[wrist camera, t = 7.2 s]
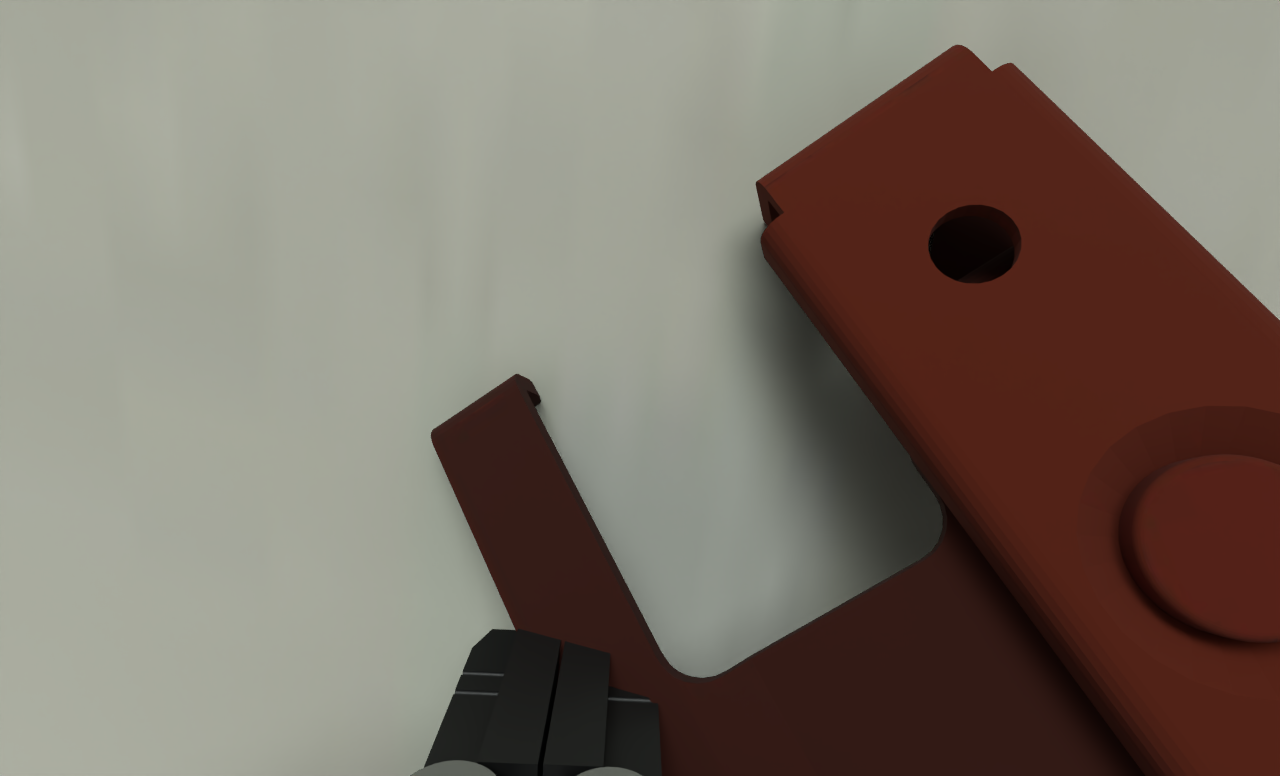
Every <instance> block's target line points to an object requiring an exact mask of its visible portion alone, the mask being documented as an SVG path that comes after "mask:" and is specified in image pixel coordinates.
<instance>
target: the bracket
mask: <svg viewBox="0 0 1280 776" xmlns="http://www.w3.org/2000/svg"><path fill="white" fill-rule="evenodd" d="M756 188H757V193H758V197H759V202H760V207H761V211H762V216H763V220H764V222H765V223H766V225H767V226H768V227H767V228H766V229H765V231H764V232H763V234H762V236H761V245H762V250H763V254H764V258H765V259H766V260H767V262H768V263H769V265H770V266H771V267H772V269H773V270H774V271H775V273H776V274H777V275H778V277H779V278H780V279H781V281H782V282H783V284H784V285H785V286H786V288H787V289H788V290H789V292H790V293H791V294H792V296H793V297H794V299H795V300H796V301H797V303H798V304H799V305H800V307H801V308H802V309H803V311H804V312H805V313H806V315H807V316H808V318H809V319H810V320H811V322H812V323H813V324H814V326H815V327H816V328H817V330H818V331H819V333H820V334H821V335H822V337H823V338H824V339H825V341H826V342H827V343H828V345H829V346H830V347H831V349H832V350H833V352H834V353H835V354H836V356H837V357H838V358H839V360H840V361H841V362H842V364H843V365H844V367H845V368H846V369H847V371H848V372H849V373H850V375H851V376H852V377H853V379H854V380H855V381H856V383H857V384H858V386H859V387H860V388H861V390H862V391H863V392H864V394H865V395H866V396H867V398H868V399H869V401H870V402H871V403H872V405H873V406H874V407H875V409H876V410H877V411H878V413H879V414H880V416H881V417H882V418H883V420H884V421H885V422H886V424H887V425H888V426H889V428H890V429H891V430H892V432H893V433H894V435H895V436H896V437H897V439H898V440H899V441H900V443H901V444H902V445H903V447H904V448H905V450H906V451H907V452H908V454H909V455H910V457H911V460H912V462H913V464H914V466H915V468H916V469H917V471H918V472H919V474H920V475H921V476H922V478H923V479H924V481H925V482H926V483H927V485H928V486H929V488H930V489H931V490H932V492H933V493H934V495H935V497H936V498H937V500H938V502H939V504H940V507H941V511H942V515H943V528H942V532H941V535H940V538H939V541H938V543H937V544H936V545H935V547H934V548H933V550H932V551H931V552H930V553H928V554H927V555H926V556H925V557H923V558H922V559H920V560H919V561H917V562H915V563H913V564H912V565H910V566H908V567H906V568H905V569H903V570H901V571H899V572H897V573H896V574H894V575H892V576H890V577H889V578H887V579H885V580H883V581H882V582H880V583H878V584H876V585H875V586H873V587H871V588H869V589H868V590H866V591H864V592H862V593H860V594H859V595H857V596H855V597H853V598H852V599H850V600H848V601H846V602H845V603H843V604H841V605H839V606H838V607H836V608H834V609H832V610H831V611H829V612H827V613H825V614H824V615H822V616H820V617H818V618H816V619H815V620H813V621H811V622H809V623H808V624H806V625H804V626H802V627H801V628H799V629H797V630H795V631H794V632H792V633H790V634H788V635H787V636H785V637H783V638H781V639H780V640H778V641H776V642H774V643H772V644H771V645H769V646H767V647H765V648H764V649H762V650H760V651H758V652H757V653H755V654H753V655H751V656H750V657H748V658H746V659H745V660H743V661H742V662H740V663H738V664H737V665H735V666H734V667H732V668H730V669H729V670H727V671H725V672H723V673H721V674H718V675H716V676H712V677H706V678H699V677H691V676H688V675H685V674H683V673H681V672H679V671H677V670H676V669H674V668H673V667H672V666H671V665H670V664H669V663H668V661H667V660H666V658H665V657H664V655H663V654H662V652H661V650H660V648H659V646H658V644H657V642H656V641H655V639H654V637H653V635H652V633H651V631H650V629H649V627H648V625H647V623H646V621H645V619H644V617H643V615H642V613H641V612H640V610H639V608H638V606H637V604H636V602H635V600H634V598H633V596H632V594H631V592H630V590H629V588H628V586H627V584H626V583H625V581H624V579H623V577H622V575H621V573H620V571H619V569H618V567H617V565H616V563H615V561H614V559H613V557H612V555H611V554H610V552H609V550H608V548H607V546H606V544H605V542H604V540H603V538H602V536H601V534H600V532H599V530H598V528H597V526H596V525H595V523H594V521H593V519H592V517H591V515H590V513H589V511H588V509H587V507H586V505H585V503H584V501H583V499H582V497H581V496H580V494H579V492H578V490H577V488H576V486H575V484H574V482H573V480H572V478H571V476H570V474H569V472H568V470H567V468H566V467H565V465H564V463H563V461H562V459H561V457H560V455H559V453H558V451H557V449H556V447H555V445H554V443H553V441H552V439H551V438H550V436H549V434H548V432H547V430H546V428H545V426H544V424H543V422H542V420H541V418H540V416H539V414H538V412H537V410H536V409H535V406H536V405H538V404H539V403H540V402H541V400H540V396H539V394H538V392H537V391H536V389H535V387H534V385H533V383H532V382H531V381H530V380H529V379H527V378H525V377H523V376H521V375H519V374H515V375H514V376H512V377H511V378H509V379H508V380H506V381H505V382H503V383H502V384H500V385H499V386H497V387H496V388H494V389H493V390H491V391H490V392H489V393H487V394H486V395H484V396H483V397H481V398H480V399H478V400H477V401H475V402H474V403H472V404H471V405H469V406H468V407H466V408H465V409H463V410H462V411H460V412H459V413H457V414H456V415H454V416H453V417H451V418H450V419H448V420H447V421H445V422H444V423H442V424H441V425H439V426H438V427H436V428H435V429H433V430H432V432H431V439H432V443H433V446H434V448H435V450H436V452H437V454H438V457H439V459H440V461H441V463H442V466H443V468H444V470H445V472H446V475H447V477H448V479H449V481H450V484H451V486H452V488H453V490H454V493H455V495H456V497H457V499H458V502H459V504H460V506H461V508H462V511H463V513H464V515H465V517H466V520H467V522H468V524H469V526H470V529H471V531H472V533H473V535H474V538H475V540H476V542H477V544H478V546H479V549H480V551H481V553H482V555H483V558H484V560H485V562H486V564H487V567H488V569H489V571H490V573H491V576H492V578H493V580H494V582H495V585H496V587H497V589H498V591H499V594H500V596H501V598H502V600H503V603H504V605H505V607H506V609H507V612H508V614H509V616H510V618H511V621H512V623H513V625H514V627H515V630H516V632H517V630H518V629H522V630H526V631H529V632H533V633H537V634H541V635H544V636H548V637H552V638H555V639H559V640H561V647H560V661H559V672H560V667H561V661H562V655H563V650H564V644H565V641H566V642H570V643H574V644H577V645H581V646H585V647H589V648H592V649H596V650H600V651H603V652H607V653H610V669H609V686H611V687H614V688H618V689H621V690H624V691H628V692H631V693H635V694H638V695H642V696H645V697H649V698H650V699H649V700H650V701H651V702H652V703H658V709H659V730H660V750H661V770H662V776H1280V320H1279V319H1278V318H1277V317H1276V316H1274V315H1273V314H1272V313H1271V312H1270V311H1269V310H1268V309H1267V308H1266V307H1265V306H1264V305H1263V304H1262V303H1261V302H1260V301H1259V300H1258V299H1257V298H1256V297H1255V296H1254V295H1253V294H1252V293H1251V292H1250V291H1249V290H1248V289H1246V288H1245V287H1244V286H1243V285H1242V284H1241V283H1240V282H1239V281H1238V280H1237V279H1236V278H1235V277H1234V276H1233V275H1232V274H1231V273H1230V272H1229V271H1228V270H1227V269H1226V268H1225V267H1224V266H1223V265H1222V264H1221V263H1220V262H1218V261H1217V260H1216V259H1215V258H1214V257H1213V256H1212V255H1211V254H1210V253H1209V252H1208V251H1207V250H1206V249H1205V248H1204V247H1203V246H1202V245H1201V244H1200V243H1199V242H1198V241H1197V240H1196V239H1195V238H1194V237H1193V236H1191V235H1190V234H1189V233H1188V232H1187V231H1186V230H1185V229H1184V228H1183V227H1182V226H1181V225H1180V224H1179V223H1178V222H1177V221H1176V220H1175V219H1174V218H1173V217H1172V216H1171V215H1170V214H1169V213H1168V212H1167V211H1166V210H1165V209H1163V208H1162V207H1161V206H1160V205H1159V204H1158V203H1157V202H1156V201H1155V200H1154V199H1153V198H1152V197H1151V196H1150V195H1149V194H1148V193H1147V192H1146V191H1145V190H1144V189H1143V188H1142V187H1141V186H1140V185H1139V184H1138V183H1137V182H1135V181H1134V180H1133V179H1132V178H1131V177H1130V176H1129V175H1128V174H1127V173H1126V172H1125V171H1124V170H1123V169H1122V168H1121V167H1120V166H1119V165H1118V164H1117V163H1116V162H1115V161H1114V160H1113V159H1112V158H1111V157H1110V156H1109V155H1107V154H1106V153H1105V152H1104V151H1103V150H1102V149H1101V148H1100V147H1099V146H1098V145H1097V144H1096V143H1095V142H1094V141H1093V140H1092V139H1091V138H1090V137H1089V136H1088V135H1087V134H1086V133H1085V132H1084V131H1083V130H1082V129H1081V128H1079V127H1078V126H1077V125H1076V124H1075V123H1074V122H1073V121H1072V120H1071V119H1070V118H1069V117H1068V116H1067V115H1066V114H1065V113H1064V112H1063V111H1062V110H1061V109H1060V108H1059V107H1058V106H1057V105H1056V104H1055V103H1054V102H1052V101H1051V100H1050V99H1049V98H1048V97H1047V96H1046V95H1045V94H1044V93H1043V92H1042V91H1041V90H1040V89H1039V88H1038V87H1037V86H1036V85H1035V84H1034V83H1033V82H1032V81H1031V80H1030V79H1029V78H1028V77H1027V76H1026V75H1024V74H1023V73H1022V72H1021V71H1020V70H1019V69H1018V68H1017V67H1016V66H1015V65H1014V64H1013V63H1007V64H1004V65H1002V66H1000V67H998V68H997V69H995V70H994V71H991V70H990V69H989V68H988V67H987V66H986V65H985V64H984V63H983V62H982V61H981V60H980V59H979V58H978V57H977V56H976V55H975V54H974V53H973V52H972V51H970V50H969V49H968V48H966V47H964V46H962V45H955V46H953V47H951V48H950V49H948V50H947V51H945V52H944V53H942V54H941V55H939V56H938V57H937V58H935V59H934V60H932V61H931V62H929V63H928V64H926V65H925V66H924V67H922V68H921V69H919V70H918V71H916V72H915V73H913V74H912V75H910V76H909V77H908V78H906V79H905V80H903V81H902V82H900V83H899V84H897V85H896V86H895V87H893V88H892V89H890V90H889V91H887V92H886V93H884V94H883V95H881V96H880V97H879V98H877V99H876V100H874V101H873V102H871V103H870V104H868V105H867V106H866V107H864V108H863V109H861V110H860V111H858V112H857V113H855V114H854V115H852V116H851V117H850V118H848V119H847V120H845V121H844V122H842V123H841V124H839V125H838V126H837V127H835V128H834V129H832V130H831V131H829V132H828V133H826V134H825V135H823V136H822V137H821V138H819V139H818V140H816V141H815V142H813V143H812V144H810V145H809V146H808V147H806V148H805V149H803V150H802V151H800V152H799V153H797V154H796V155H794V156H793V157H792V158H790V159H789V160H787V161H786V162H784V163H783V164H781V165H780V166H779V167H777V168H776V169H774V170H773V171H771V172H770V173H768V174H767V175H765V176H764V177H763V178H761V179H760V180H758V181H757V182H756ZM934 231H935V232H934ZM933 232H934V237H933V241H932V246H931V251H930V254H929V250H928V240H929V238H930V236H931V235H932V234H933ZM558 678H559V676H558Z"/></svg>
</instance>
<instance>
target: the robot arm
mask: <svg viewBox="0 0 1280 776" xmlns="http://www.w3.org/2000/svg"><path fill="white" fill-rule="evenodd" d="M560 647H561V640H559V639H555V638H552V637H548V636H544V635H541V634H537V633H533V632H529V631H526V630H522V629H518V630H517V632H516V630H498V629H492V630H491V631H490V632H489V633H488V634H487V635H486V636H485V637H483V638H482V639H481V640H480V641H479V642H478V643H477V644H476V645H475V646H474V647H473V648H472V650H471V652H470V655H469V657H468V660H467V662H466V664H465V667H464V669H463V675H461V677H460V679H459V682H458V684H457V687H456V689H455V694H453V697H452V699H451V702H450V704H449V707H448V709H447V711H446V714H445V716H444V719H443V721H442V724H441V726H440V729H439V731H438V734H437V736H436V739H435V741H434V744H433V746H432V749H431V751H430V753H429V756H428V758H427V761H426V763H425V766H424V768H423V769H421V770H419V771H417V772H415V773H413V774H412V775H410V776H662V770H661V750H660V730H659V709H658V703H652V702H651V701H650V700H649V699H650V698H649V697H645V696H642V695H638V694H635V693H631V692H628V691H624V690H621V689H618V688H614V687H611V686H609V669H610V653H607V652H603V651H600V650H596V649H592V648H589V647H585V646H581V645H577V644H574V643H570V642H566V641H565V644H564V650H563V655H562V661H561V667H560V672H559V661H560ZM558 676H559V678H558Z"/></svg>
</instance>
